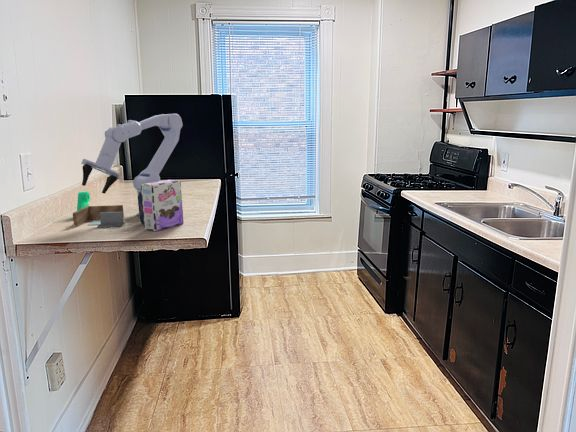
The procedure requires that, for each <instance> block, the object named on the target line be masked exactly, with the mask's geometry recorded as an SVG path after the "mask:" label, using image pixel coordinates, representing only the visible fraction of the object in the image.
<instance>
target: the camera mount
mask: <svg viewBox="0 0 576 432" xmlns="http://www.w3.org/2000/svg"><path fill="white" fill-rule="evenodd" d="M90 194H91V193H90V192H89V191H78V193H77V205H76V206H77V207H76V211H78V210H80V209H82V208H84V207H86V206H90V204H89V203H90V200H91V196H90Z"/></svg>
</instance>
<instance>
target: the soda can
mask: <svg viewBox="0 0 576 432" xmlns="http://www.w3.org/2000/svg"><path fill="white" fill-rule="evenodd" d="M137 206H138V213H139V215H138V216H139V221H140V224H142V225H143V226H144V216H143V204H142V191H141V192H139V195H138V194H137Z"/></svg>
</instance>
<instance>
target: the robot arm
mask: <svg viewBox="0 0 576 432" xmlns="http://www.w3.org/2000/svg"><path fill="white" fill-rule="evenodd" d="M182 120H183V119H182V117H181V116H180V114H178V113H167V114H164V113H161V114H158V115H157V114H156V115H152V116H151V117H149V118H148V117H147V118H145V119H143V120H141V121H137V120H132V119H129V120H127V122H125V123H122V124H121V123H118V124H117V125H116V126H113V127H112V126H111V127H108V129H106V130H105V131H104V137H105V139H104V142H103V144H102V147H101V149H100V151H99V154H98V156H97V158H96V161H95V162H94V161H92V160H89V159H86V158H83V159H82V161H81V163H80V164H81V165H82V184H81V185H82V186H86V185H87V182H88V179H89V177H90V176H91V173H92V171H93V170H97V171H98V172H101V173H103V174H106V175H108V176H107V177H106V181H105V184H104V187H103V189H102V191H101V194H106V193H107V191H108V190H109V188H110V187H111V186H112V185H113V184H114V183H115V182H117V181H118V180H120V179H121V176H122V174H121V173H120V172H119V173H118V172H117V171H115V170H113V169H112V168H113V164H114V161H115V159H116V157H117V154H118V153H119V149H120V147H121V144H122V143H124V142H126V140H128V139H130V138H134V137H136V136H138V135H141V133H142V131H143V130H146V129H149V128H152V127H158V129H160V131H161V133H162V135H163V136H164V138H163V140H162V141H161V144H160V146H159V147H158V149H157V151H156V152H155V154H154V155H153V157H152V159H151V161H150V162H149V164H148V166H147V167H146V168H145V169H143V170H142V171H141V172H140V173H139V174H138V175H137V176H135V177H134V178H133V181H132V184H133V187H134V189H135V190H136V193H137V196H138V195H139V192H141V184H147V183H153V182H159V181H161V176H160V173H161V172H162V170H163V169H164V166H165V164H166V163H167V161H168V159H169V158H170V156H171V154H172V153H173V151H174V149H175V148H176V146H177V144H178V142H179V141H180V134H181V129H182V128H183V125H184V124H183V121H182ZM135 215H136V216H139V212H137V213H136V214H135Z"/></svg>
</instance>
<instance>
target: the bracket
mask: <svg viewBox="0 0 576 432" xmlns="http://www.w3.org/2000/svg"><path fill="white" fill-rule="evenodd" d="M123 212H124V211H123ZM123 212H100V213H99V214H100V219H99V220H100V223H101V224H100V225H96V226H97V229H109V228H110V229H112V228H111V227H117V228H121V227H122V226H124V223H125V221H124V218H123Z"/></svg>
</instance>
